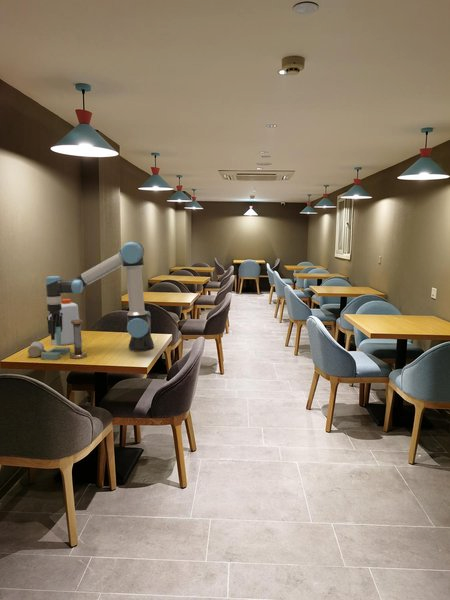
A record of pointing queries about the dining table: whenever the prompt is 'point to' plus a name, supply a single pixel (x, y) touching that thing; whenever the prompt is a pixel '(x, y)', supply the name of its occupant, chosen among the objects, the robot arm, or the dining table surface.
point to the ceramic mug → (36, 349)
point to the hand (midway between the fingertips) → (56, 344)
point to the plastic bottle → (68, 321)
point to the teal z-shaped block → (55, 353)
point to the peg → (58, 335)
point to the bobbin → (77, 340)
